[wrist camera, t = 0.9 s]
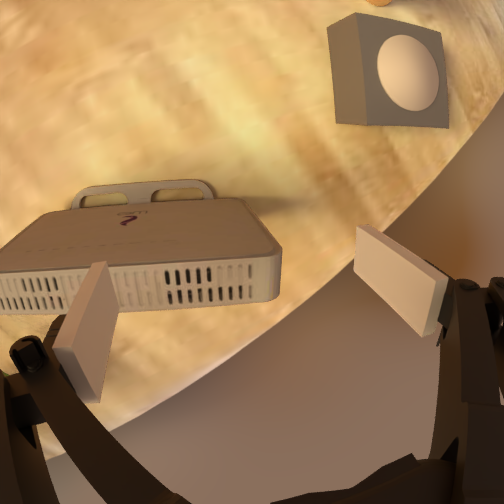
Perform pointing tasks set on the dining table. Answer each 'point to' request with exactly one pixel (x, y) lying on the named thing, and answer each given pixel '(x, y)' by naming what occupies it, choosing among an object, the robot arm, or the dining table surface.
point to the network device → (143, 253)
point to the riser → (387, 73)
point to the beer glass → (379, 2)
